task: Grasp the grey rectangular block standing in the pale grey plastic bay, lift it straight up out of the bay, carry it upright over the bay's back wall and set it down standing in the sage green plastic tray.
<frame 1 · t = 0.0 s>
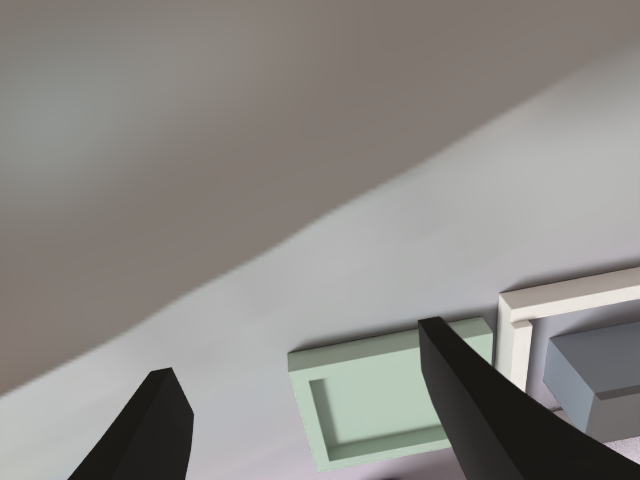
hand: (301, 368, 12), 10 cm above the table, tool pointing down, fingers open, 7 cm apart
grey rectangular block: (596, 349, 28), on the table
bay: (583, 353, 28), on the table
tray: (391, 390, 28), on the table
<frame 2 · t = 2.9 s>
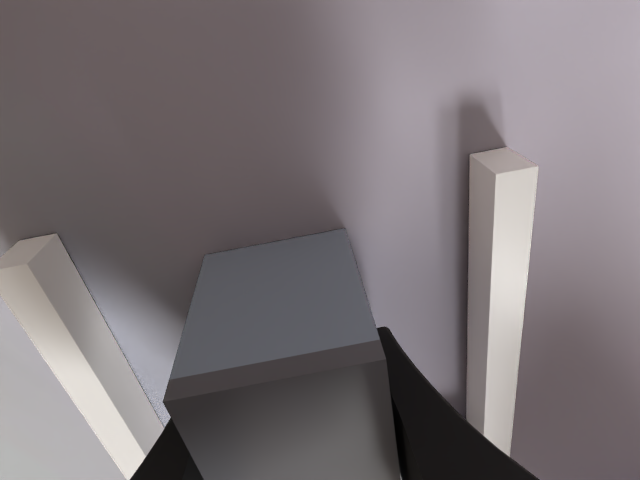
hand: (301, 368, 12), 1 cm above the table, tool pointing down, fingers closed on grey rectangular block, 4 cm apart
grey rectangular block: (298, 334, 13), on the table, touching gripper
bay: (304, 357, 14), on the table
when the fingers open (3 cm above the table, at t = 8.7 s): grey rectangular block stays where it is, resting on tray.
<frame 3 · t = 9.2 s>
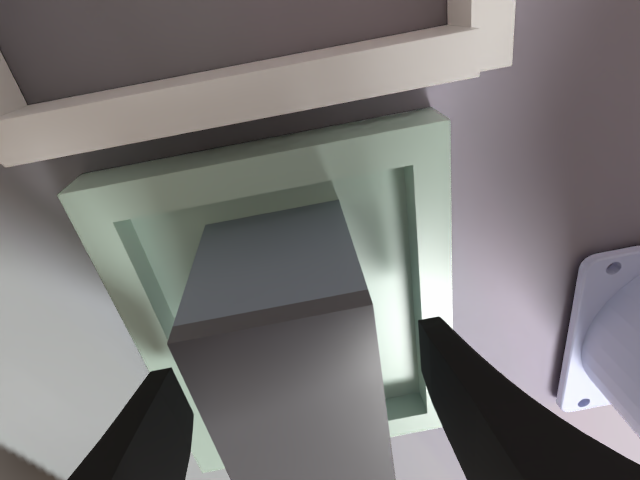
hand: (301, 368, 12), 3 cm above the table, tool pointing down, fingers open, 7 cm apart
grey rectangular block: (294, 304, 14), resting on tray
tray: (296, 306, 15), on the table
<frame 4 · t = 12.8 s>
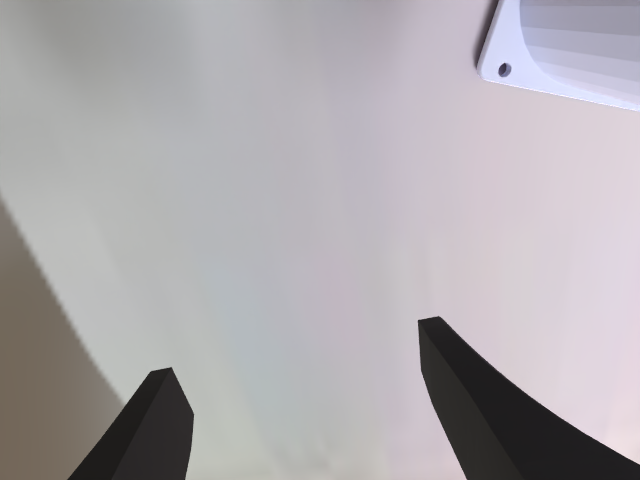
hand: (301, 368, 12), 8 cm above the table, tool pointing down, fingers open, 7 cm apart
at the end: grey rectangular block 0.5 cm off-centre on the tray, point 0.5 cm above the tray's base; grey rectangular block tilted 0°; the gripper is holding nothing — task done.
